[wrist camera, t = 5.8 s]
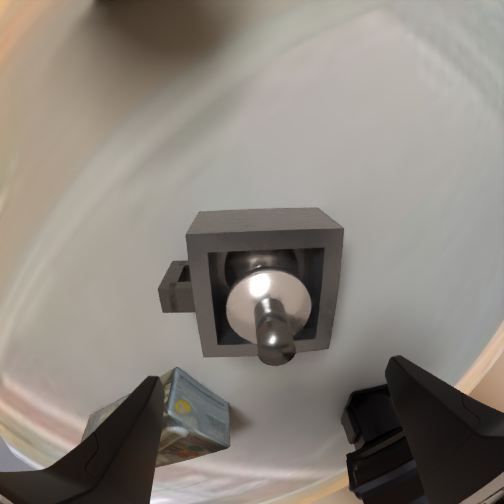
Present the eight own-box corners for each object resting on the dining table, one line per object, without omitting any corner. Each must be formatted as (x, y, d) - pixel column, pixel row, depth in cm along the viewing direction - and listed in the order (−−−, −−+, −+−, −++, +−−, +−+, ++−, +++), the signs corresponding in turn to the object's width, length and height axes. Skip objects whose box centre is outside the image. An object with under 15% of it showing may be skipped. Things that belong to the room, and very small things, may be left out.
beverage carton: (234, 403, 25) (235, 455, 19) (134, 441, 29) (125, 477, 23) (177, 362, 23) (165, 419, 17) (89, 412, 26) (74, 449, 20)
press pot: (317, 207, 18) (344, 228, 13) (311, 308, 21) (328, 348, 16) (168, 213, 18) (146, 236, 13) (183, 314, 21) (171, 356, 16)
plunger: (297, 231, 18) (342, 297, 10) (295, 297, 20) (326, 383, 12) (222, 235, 18) (210, 305, 10) (227, 301, 20) (222, 392, 12)
